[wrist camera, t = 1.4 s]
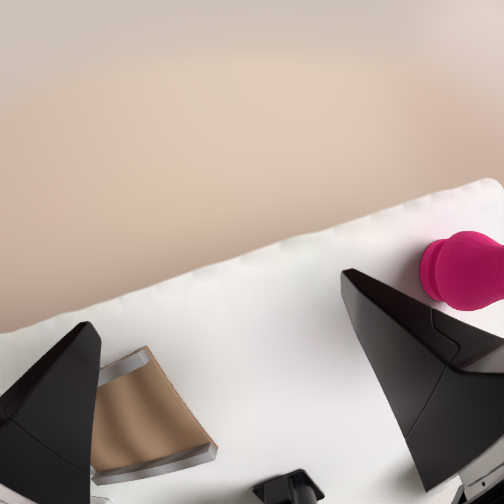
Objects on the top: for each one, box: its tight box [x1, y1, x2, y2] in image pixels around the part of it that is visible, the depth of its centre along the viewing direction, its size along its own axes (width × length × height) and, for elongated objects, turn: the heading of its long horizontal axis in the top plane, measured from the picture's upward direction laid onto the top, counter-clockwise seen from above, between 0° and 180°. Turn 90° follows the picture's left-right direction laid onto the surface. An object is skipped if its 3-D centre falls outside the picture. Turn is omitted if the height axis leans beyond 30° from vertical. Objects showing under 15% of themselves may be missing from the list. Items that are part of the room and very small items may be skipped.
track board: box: [91, 346, 218, 486], centre depth 24 cm, size 18×13×2 cm
